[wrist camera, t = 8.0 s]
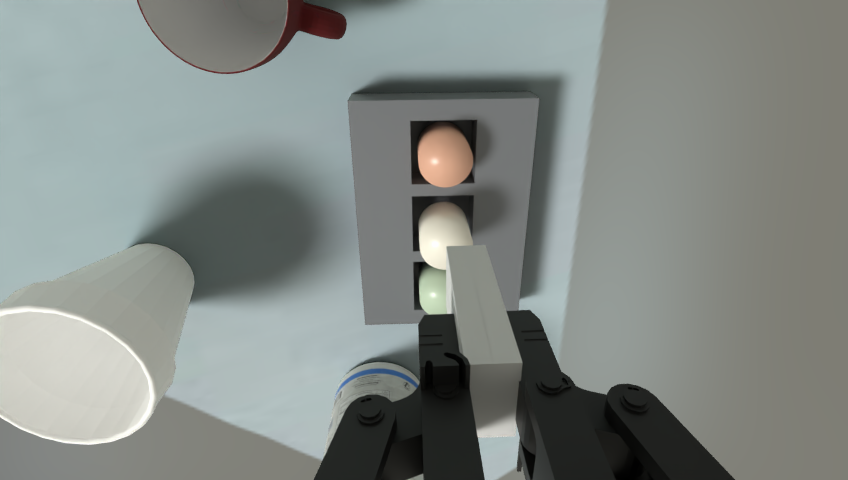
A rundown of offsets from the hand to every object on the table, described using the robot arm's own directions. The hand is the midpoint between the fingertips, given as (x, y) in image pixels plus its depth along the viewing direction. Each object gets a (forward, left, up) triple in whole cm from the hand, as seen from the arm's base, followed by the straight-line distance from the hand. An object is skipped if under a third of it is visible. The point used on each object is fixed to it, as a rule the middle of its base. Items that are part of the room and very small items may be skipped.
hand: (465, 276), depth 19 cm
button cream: (+5, +4, -20) cm, 21 cm away
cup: (+25, -14, -23) cm, 37 cm away
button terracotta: (0, +1, -22) cm, 22 cm away
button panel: (+5, +4, -23) cm, 24 cm away
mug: (-2, -15, -23) cm, 27 cm away
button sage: (+10, +8, -22) cm, 25 cm away
